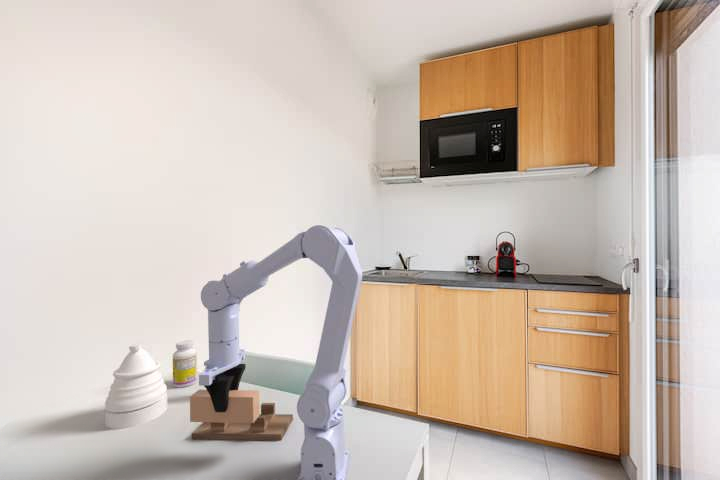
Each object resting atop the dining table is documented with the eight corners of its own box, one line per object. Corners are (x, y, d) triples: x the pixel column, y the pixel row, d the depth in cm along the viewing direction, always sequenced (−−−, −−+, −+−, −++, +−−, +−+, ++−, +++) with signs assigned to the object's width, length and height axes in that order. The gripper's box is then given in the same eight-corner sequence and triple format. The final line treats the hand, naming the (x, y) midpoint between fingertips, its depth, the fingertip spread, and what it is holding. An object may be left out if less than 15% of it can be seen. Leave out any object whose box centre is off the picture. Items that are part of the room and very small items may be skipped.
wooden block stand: (281, 440, 66) (281, 419, 66) (191, 438, 68) (191, 419, 68) (292, 419, 74) (292, 401, 74) (212, 418, 76) (211, 401, 76)
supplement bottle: (177, 380, 100) (177, 340, 100) (200, 378, 101) (199, 338, 102) (169, 389, 93) (168, 346, 94) (193, 386, 95) (192, 344, 95)
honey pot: (163, 419, 76) (162, 345, 77) (97, 434, 71) (96, 354, 71) (170, 398, 88) (169, 333, 89) (113, 409, 82) (112, 340, 83)
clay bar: (253, 423, 61) (252, 397, 61) (190, 421, 62) (190, 396, 62) (259, 415, 64) (259, 390, 64) (199, 414, 65) (199, 389, 65)
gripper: (223, 330, 71) (225, 390, 71) (182, 350, 57) (183, 426, 56) (253, 329, 71) (255, 390, 70) (219, 350, 56) (221, 427, 56)
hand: (225, 406), depth 63 cm, fingers closed on clay bar, 3 cm apart
